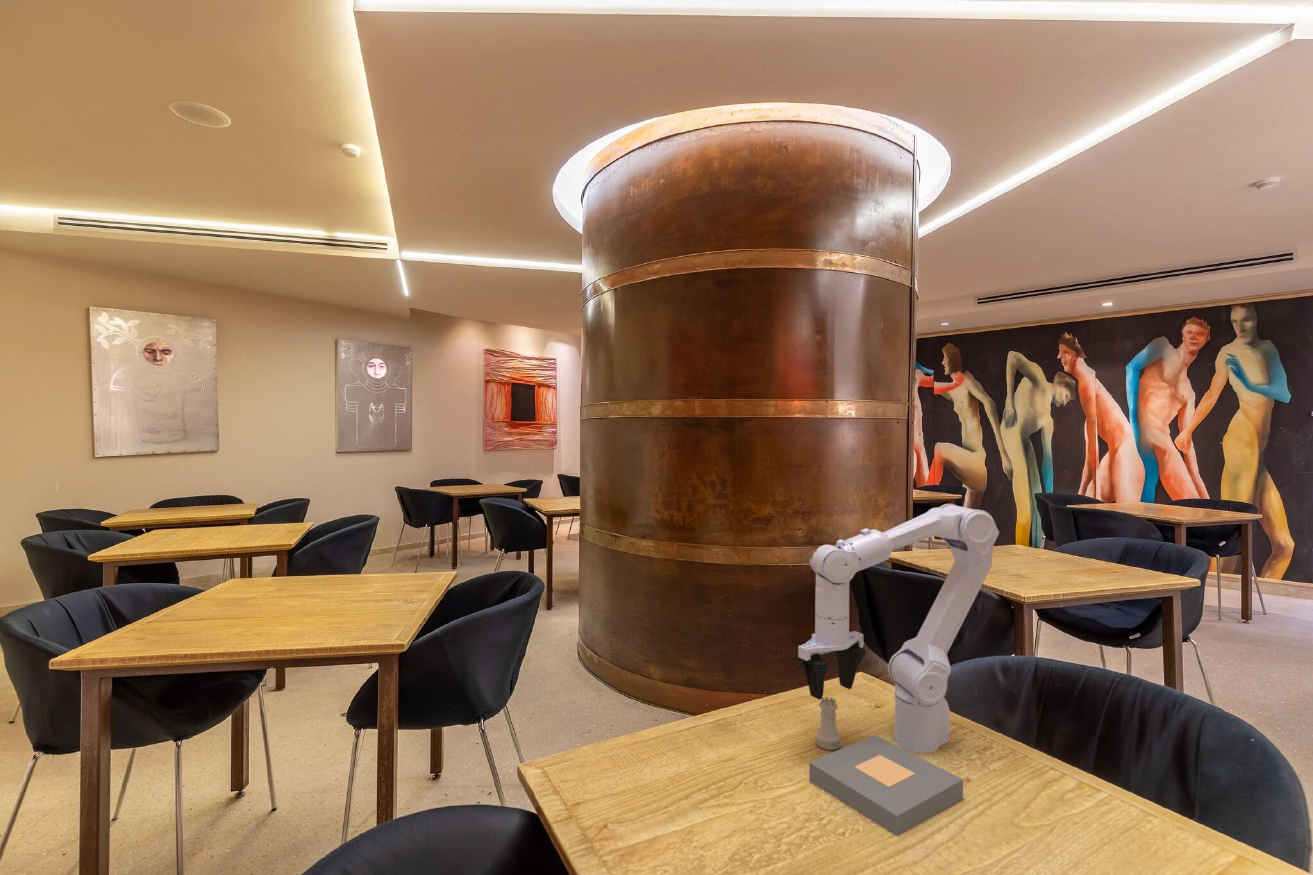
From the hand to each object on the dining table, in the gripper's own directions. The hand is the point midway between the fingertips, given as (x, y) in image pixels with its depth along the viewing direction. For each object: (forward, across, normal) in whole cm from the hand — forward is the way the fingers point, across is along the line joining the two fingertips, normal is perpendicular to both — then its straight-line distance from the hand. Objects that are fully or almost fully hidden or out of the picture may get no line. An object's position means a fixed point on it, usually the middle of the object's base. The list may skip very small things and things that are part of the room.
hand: (831, 691), depth 107 cm
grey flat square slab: (+10, +3, +13) cm, 17 cm away
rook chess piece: (+10, 0, -1) cm, 10 cm away
